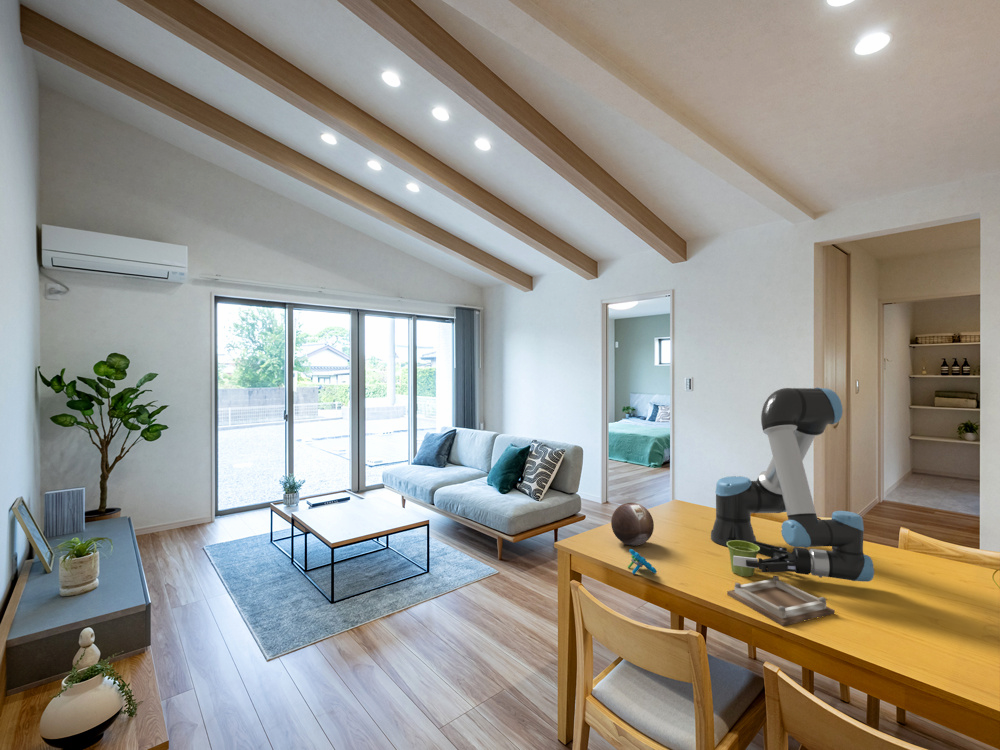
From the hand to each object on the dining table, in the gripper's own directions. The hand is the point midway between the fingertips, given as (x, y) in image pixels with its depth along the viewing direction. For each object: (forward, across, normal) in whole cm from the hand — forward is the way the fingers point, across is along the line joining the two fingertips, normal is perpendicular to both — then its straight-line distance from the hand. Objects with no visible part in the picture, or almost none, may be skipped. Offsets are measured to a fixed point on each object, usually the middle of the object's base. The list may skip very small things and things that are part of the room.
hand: (731, 552), depth 154 cm
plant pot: (-3, 0, -6) cm, 7 cm away
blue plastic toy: (+26, -10, -6) cm, 29 cm away
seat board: (-10, -19, -6) cm, 22 cm away
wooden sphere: (+32, +14, -6) cm, 35 cm away
